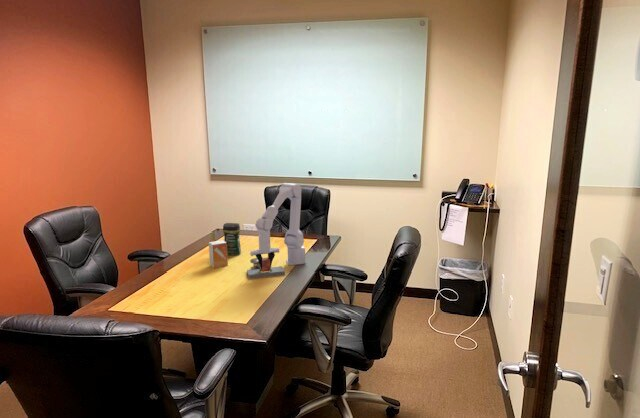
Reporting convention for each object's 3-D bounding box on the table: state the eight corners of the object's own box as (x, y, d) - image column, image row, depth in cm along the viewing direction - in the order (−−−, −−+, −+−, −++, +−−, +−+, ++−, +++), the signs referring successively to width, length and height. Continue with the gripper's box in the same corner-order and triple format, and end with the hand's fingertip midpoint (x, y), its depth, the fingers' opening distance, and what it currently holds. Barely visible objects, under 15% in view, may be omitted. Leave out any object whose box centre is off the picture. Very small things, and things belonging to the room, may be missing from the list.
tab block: (268, 268, 219) (267, 257, 218) (270, 270, 216) (270, 259, 215) (260, 269, 218) (260, 258, 217) (262, 272, 214) (262, 260, 213)
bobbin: (263, 266, 228) (262, 257, 227) (265, 270, 222) (264, 261, 221) (249, 267, 226) (249, 258, 225) (251, 272, 220) (251, 262, 219)
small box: (213, 268, 226) (212, 244, 223) (209, 265, 231) (208, 242, 229) (228, 265, 230) (227, 242, 228) (224, 262, 235) (222, 239, 233)
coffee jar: (222, 255, 248) (220, 224, 244) (227, 251, 256) (225, 221, 252) (238, 256, 246) (236, 225, 243) (242, 252, 254) (241, 221, 250)
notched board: (281, 269, 223) (281, 266, 222) (284, 274, 215) (284, 271, 215) (247, 273, 218) (246, 269, 217) (249, 278, 210) (248, 275, 210)
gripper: (276, 238, 220) (277, 263, 223) (248, 241, 215) (249, 267, 217) (280, 241, 214) (281, 267, 216) (251, 244, 208) (252, 271, 211)
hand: (265, 267), depth 216 cm, fingers closed on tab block, 4 cm apart
